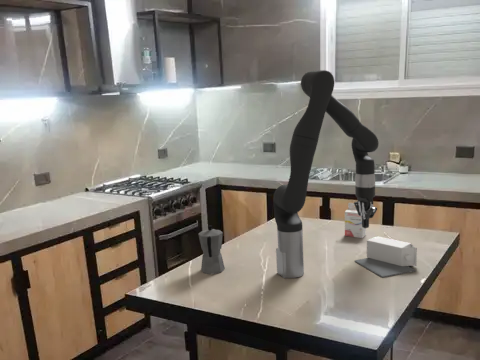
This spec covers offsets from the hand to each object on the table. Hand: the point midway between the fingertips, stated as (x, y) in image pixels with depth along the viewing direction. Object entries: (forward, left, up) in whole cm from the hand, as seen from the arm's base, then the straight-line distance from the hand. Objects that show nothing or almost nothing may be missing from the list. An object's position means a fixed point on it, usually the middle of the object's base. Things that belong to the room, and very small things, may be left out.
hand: (365, 227), depth 186 cm
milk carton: (+2, -1, -8) cm, 8 cm away
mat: (0, -12, -12) cm, 17 cm away
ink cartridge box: (+11, +25, -12) cm, 30 cm away
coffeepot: (-60, +13, -12) cm, 63 cm away
